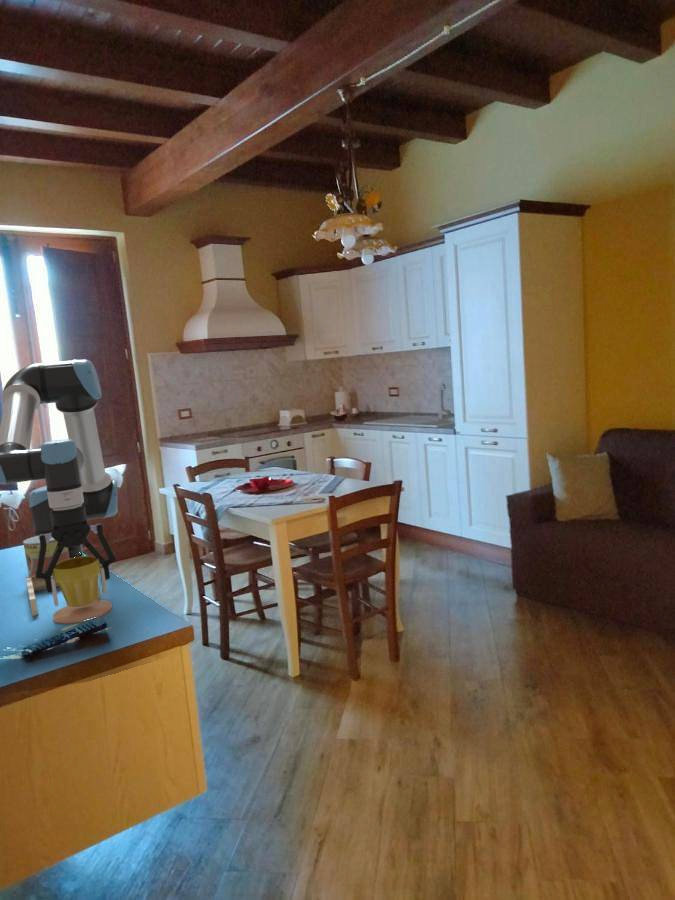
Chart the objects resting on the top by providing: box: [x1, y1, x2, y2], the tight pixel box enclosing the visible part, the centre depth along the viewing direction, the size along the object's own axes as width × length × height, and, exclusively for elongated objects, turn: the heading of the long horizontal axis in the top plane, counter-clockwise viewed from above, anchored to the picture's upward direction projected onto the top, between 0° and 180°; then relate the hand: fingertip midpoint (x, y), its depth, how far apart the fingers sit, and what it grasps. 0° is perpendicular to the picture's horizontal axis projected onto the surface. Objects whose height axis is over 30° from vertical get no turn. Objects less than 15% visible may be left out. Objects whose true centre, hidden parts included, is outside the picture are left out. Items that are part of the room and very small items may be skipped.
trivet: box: [52, 599, 113, 625], centre depth 155 cm, size 13×13×1 cm
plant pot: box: [53, 555, 101, 607], centre depth 154 cm, size 10×10×10 cm
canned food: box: [22, 535, 70, 577], centre depth 186 cm, size 11×11×12 cm
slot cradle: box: [25, 573, 102, 617], centre depth 170 cm, size 22×16×4 cm
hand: (81, 598), depth 155 cm, fingers closed on plant pot, 10 cm apart
